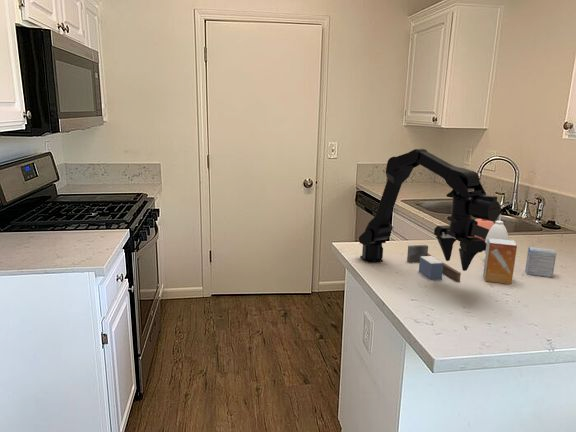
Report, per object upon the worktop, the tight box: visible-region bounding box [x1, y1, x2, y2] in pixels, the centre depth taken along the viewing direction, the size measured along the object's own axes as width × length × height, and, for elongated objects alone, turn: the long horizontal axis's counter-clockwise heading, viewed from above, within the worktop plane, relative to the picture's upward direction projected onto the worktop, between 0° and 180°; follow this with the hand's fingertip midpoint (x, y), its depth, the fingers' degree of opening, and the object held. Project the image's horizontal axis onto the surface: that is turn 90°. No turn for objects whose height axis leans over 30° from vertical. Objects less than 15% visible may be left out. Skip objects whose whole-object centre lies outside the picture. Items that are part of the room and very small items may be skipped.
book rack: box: [406, 244, 462, 283], centre depth 158 cm, size 8×22×6 cm, turn 12°
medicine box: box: [525, 246, 557, 278], centre depth 157 cm, size 8×4×9 cm, turn 71°
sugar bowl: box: [469, 218, 495, 241], centre depth 199 cm, size 12×14×10 cm
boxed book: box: [418, 255, 444, 281], centre depth 153 cm, size 4×8×6 cm, turn 12°
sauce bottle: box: [484, 213, 510, 255], centre depth 168 cm, size 8×8×18 cm
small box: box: [482, 238, 518, 285], centre depth 150 cm, size 8×6×13 cm
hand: (455, 265), depth 139 cm, fingers open, 9 cm apart
